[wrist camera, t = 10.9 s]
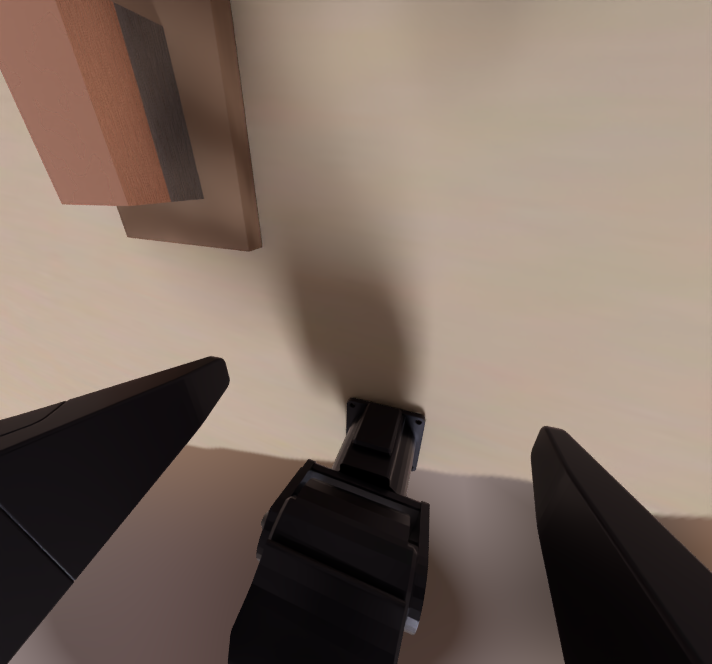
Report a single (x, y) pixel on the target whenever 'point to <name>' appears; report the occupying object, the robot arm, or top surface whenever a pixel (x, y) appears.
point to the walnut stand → (204, 131)
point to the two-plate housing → (98, 101)
